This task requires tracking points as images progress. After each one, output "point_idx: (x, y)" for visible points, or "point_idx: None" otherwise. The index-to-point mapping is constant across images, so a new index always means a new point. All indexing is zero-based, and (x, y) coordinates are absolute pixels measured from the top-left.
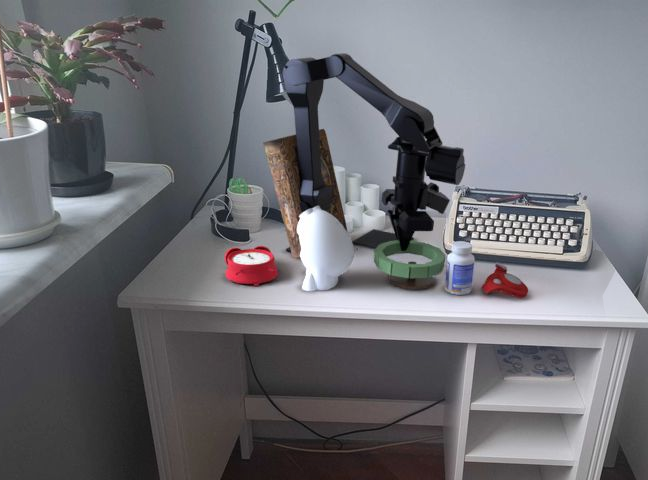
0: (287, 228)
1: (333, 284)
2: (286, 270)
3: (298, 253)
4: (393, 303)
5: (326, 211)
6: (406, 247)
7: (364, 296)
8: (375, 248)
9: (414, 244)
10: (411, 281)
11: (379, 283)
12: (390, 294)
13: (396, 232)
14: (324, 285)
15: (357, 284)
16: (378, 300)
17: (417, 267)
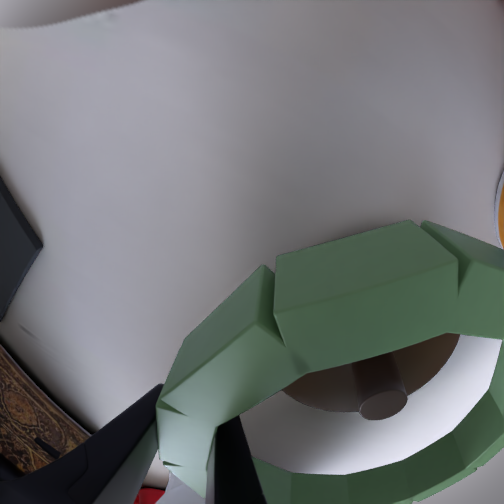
0: None
1: None
2: (163, 481)
3: None
4: (447, 422)
5: (5, 474)
6: (239, 425)
7: (368, 458)
8: (17, 286)
9: (247, 407)
10: (401, 363)
11: (317, 421)
12: (404, 419)
13: (136, 492)
14: None
15: (291, 453)
16: (409, 443)
17: (499, 449)
